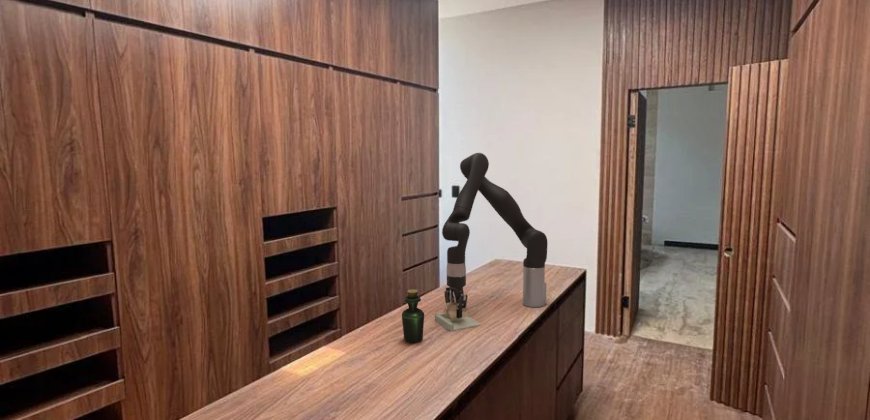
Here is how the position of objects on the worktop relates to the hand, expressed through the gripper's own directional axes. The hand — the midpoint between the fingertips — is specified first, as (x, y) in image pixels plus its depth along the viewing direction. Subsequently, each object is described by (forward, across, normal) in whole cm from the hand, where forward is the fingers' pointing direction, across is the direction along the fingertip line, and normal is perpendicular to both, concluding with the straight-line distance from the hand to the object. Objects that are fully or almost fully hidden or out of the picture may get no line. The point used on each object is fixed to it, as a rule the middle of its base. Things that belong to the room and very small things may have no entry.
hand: (456, 315), depth 180 cm
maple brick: (0, 0, 0) cm, 0 cm away
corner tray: (+3, 0, 0) cm, 3 cm away
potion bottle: (+3, +8, -22) cm, 24 cm away
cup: (+3, -14, +6) cm, 16 cm away
